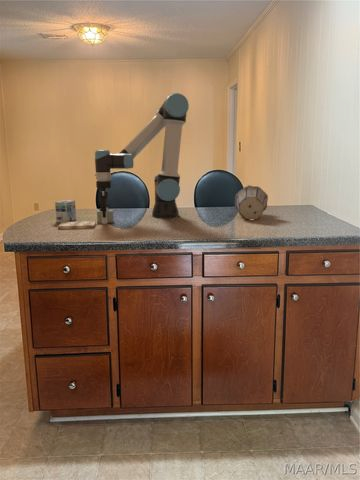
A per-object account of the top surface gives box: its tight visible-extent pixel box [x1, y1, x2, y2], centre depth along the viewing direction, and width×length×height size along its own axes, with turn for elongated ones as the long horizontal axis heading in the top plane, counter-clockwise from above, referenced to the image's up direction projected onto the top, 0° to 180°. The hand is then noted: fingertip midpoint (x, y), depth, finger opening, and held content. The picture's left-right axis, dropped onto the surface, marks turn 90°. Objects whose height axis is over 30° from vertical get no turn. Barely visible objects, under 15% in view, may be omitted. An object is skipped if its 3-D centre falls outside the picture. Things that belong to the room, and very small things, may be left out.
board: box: [57, 220, 97, 230], centre depth 205 cm, size 17×11×2 cm, turn 97°
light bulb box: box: [54, 199, 77, 223], centre depth 220 cm, size 11×7×11 cm, turn 168°
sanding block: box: [96, 209, 114, 224], centre depth 217 cm, size 8×5×6 cm, turn 97°
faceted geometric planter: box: [234, 184, 269, 220], centre depth 229 cm, size 18×18×30 cm
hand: (105, 221), depth 218 cm, fingers open, 12 cm apart
